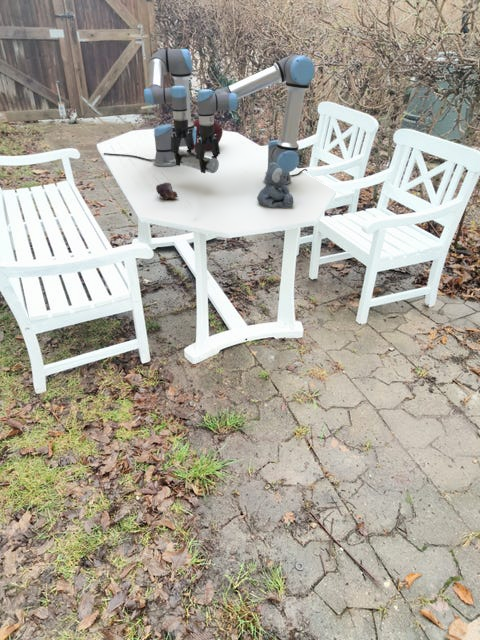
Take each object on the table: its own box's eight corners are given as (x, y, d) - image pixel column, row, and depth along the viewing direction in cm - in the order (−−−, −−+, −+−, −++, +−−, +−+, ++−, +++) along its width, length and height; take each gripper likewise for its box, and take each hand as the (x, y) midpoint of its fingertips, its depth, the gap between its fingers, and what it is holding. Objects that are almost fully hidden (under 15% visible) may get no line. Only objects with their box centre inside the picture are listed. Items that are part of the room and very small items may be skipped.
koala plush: (294, 208, 225) (297, 169, 214) (259, 209, 224) (259, 170, 213) (288, 196, 240) (290, 159, 229) (255, 198, 239) (255, 160, 227)
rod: (174, 165, 248) (172, 150, 243) (184, 162, 252) (183, 148, 248) (208, 174, 232) (207, 159, 228) (219, 171, 237) (218, 156, 233)
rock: (172, 196, 246) (154, 198, 242) (170, 179, 242) (152, 182, 238) (179, 199, 236) (161, 201, 232) (177, 182, 233) (159, 184, 229)
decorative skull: (188, 123, 330) (185, 120, 306) (219, 116, 329) (218, 112, 306) (194, 153, 337) (192, 152, 313) (225, 146, 336) (225, 145, 313)
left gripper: (170, 123, 226) (174, 169, 239) (199, 117, 239) (202, 161, 252) (160, 121, 230) (165, 166, 243) (190, 115, 243) (193, 158, 256)
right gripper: (196, 128, 215) (199, 176, 228) (226, 122, 228) (227, 167, 241) (186, 126, 219) (189, 173, 232) (215, 120, 232) (217, 165, 245)
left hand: (184, 163), depth 247 cm, fingers closed on rod, 8 cm apart
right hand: (208, 170), depth 236 cm, fingers closed on rod, 8 cm apart
